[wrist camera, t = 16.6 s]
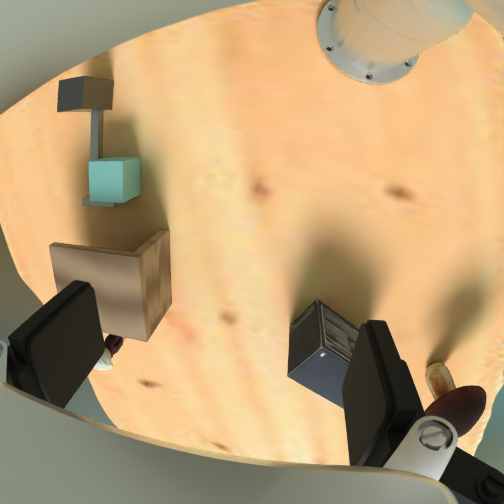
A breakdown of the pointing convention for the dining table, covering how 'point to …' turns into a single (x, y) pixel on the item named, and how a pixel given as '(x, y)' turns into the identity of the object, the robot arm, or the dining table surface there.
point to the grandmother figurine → (109, 351)
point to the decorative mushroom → (454, 399)
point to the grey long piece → (86, 100)
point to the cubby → (121, 283)
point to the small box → (321, 351)
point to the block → (114, 179)
